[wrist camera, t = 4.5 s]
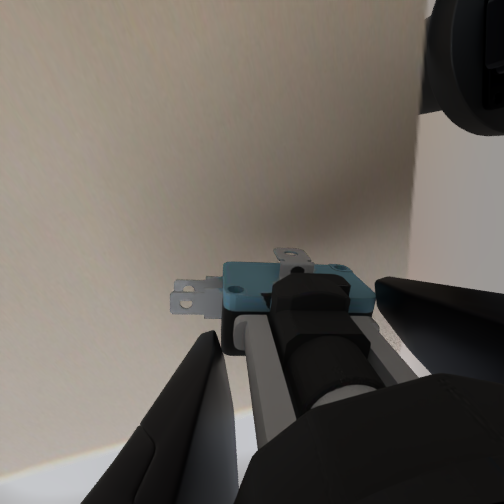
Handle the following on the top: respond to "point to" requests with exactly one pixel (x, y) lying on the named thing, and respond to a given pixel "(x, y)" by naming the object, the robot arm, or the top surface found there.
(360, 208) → the top surface
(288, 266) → the push button
